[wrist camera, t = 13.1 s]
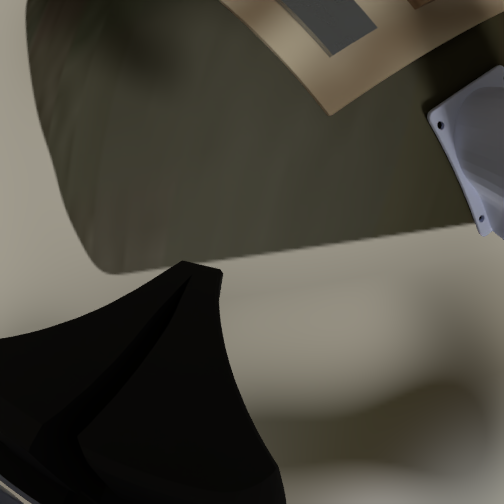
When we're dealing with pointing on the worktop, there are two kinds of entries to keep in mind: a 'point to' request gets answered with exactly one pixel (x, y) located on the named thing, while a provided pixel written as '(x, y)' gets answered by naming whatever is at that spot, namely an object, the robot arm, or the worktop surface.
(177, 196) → the worktop surface
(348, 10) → the bar
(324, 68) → the socket board
